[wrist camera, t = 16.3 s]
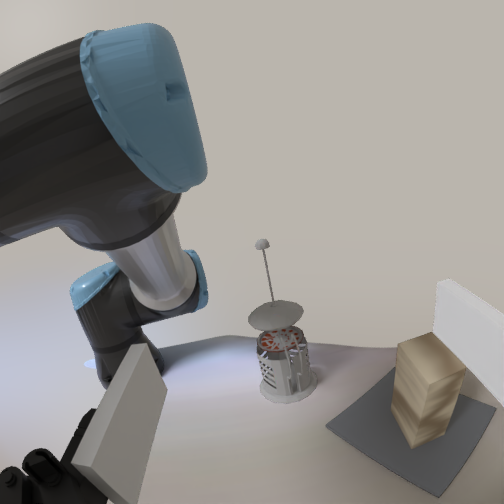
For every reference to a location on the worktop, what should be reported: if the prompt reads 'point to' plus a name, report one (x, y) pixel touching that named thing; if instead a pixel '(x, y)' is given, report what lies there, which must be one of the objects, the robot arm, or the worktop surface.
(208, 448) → the worktop surface
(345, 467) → the worktop surface
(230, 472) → the worktop surface
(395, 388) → the birch block
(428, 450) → the mat
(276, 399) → the french press
